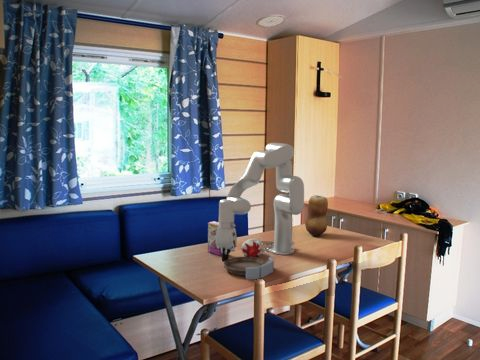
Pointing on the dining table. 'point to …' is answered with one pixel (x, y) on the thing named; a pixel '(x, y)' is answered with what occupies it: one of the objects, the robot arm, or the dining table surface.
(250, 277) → the grey curved bar
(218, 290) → the dining table surface
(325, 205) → the butternut squash
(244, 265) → the plant saucer
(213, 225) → the candy bar box
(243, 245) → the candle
